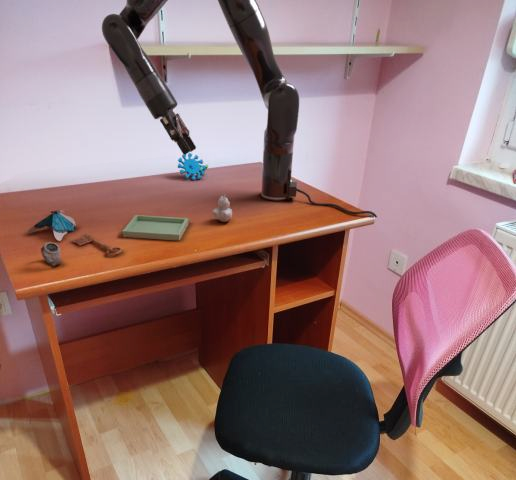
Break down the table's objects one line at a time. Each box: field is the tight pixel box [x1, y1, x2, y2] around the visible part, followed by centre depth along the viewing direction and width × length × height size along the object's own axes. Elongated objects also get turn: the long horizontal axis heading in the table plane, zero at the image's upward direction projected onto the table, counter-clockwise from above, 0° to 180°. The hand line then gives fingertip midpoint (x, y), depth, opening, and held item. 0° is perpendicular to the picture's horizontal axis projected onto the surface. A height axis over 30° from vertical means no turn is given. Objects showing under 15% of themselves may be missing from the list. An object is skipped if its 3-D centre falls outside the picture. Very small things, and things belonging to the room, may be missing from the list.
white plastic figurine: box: [211, 193, 233, 223], centre depth 135 cm, size 5×7×8 cm
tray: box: [121, 214, 190, 242], centre depth 130 cm, size 15×12×2 cm
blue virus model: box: [177, 152, 209, 181], centre depth 170 cm, size 11×6×10 cm
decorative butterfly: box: [26, 210, 77, 242], centre depth 126 cm, size 10×6×10 cm
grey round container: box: [40, 241, 62, 267], centre depth 111 cm, size 4×6×5 cm, turn 49°
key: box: [72, 233, 123, 256], centre depth 120 cm, size 6×1×15 cm
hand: (190, 151), depth 134 cm, fingers open, 8 cm apart
